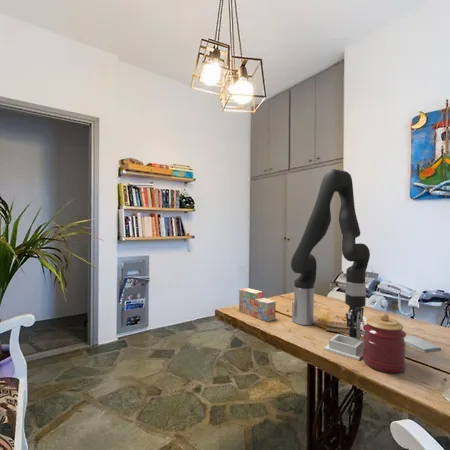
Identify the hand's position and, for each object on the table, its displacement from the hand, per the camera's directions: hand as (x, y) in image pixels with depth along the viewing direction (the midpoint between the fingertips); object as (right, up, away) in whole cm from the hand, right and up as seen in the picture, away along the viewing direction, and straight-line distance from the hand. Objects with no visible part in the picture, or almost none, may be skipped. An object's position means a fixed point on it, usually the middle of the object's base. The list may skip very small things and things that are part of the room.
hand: (354, 335), depth 120 cm
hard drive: (+25, -4, -1) cm, 26 cm away
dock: (-6, -3, -7) cm, 10 cm away
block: (+1, -3, -1) cm, 4 cm away
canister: (+2, -4, -18) cm, 18 cm away
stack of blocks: (-36, -3, +35) cm, 50 cm away
